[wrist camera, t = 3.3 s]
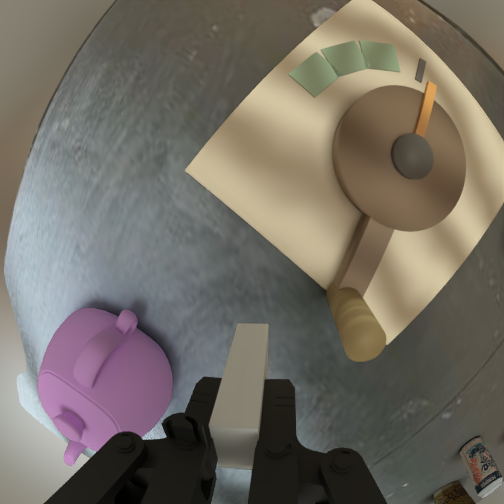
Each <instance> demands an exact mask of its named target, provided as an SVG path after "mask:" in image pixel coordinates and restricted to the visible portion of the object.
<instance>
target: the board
mask: <svg viewBox="0 0 504 504" xmlns="http://www.w3.org/2000/svg"><path fill="white" fill-rule="evenodd" d="M428 81H430V82H432V83H433V84H435V85H436V86H437V88H436V93H435V97H434V100H435V101H436V102H437V103H438V104H439V105H440V106H441V107H442V108H443V109H444V110H445V111H446V112H447V113H448V115H449V116H450V118H451V119H452V120H453V122H454V124H455V126H456V128H457V129H458V132H459V134H460V137H461V139H462V143H463V146H464V151H465V157H466V177H465V183H464V187H463V191H462V194H461V196H460V199H459V200H458V202H457V204H456V206H455V207H454V209H453V210H452V212H451V213H450V214H449V215H448V216H447V217H446V218H445V219H444V220H442V221H441V222H440V223H438V224H437V225H435V226H433V227H431V228H428V229H426V230H421V231H415V232H406V231H399V230H394V232H393V234H392V237H391V239H390V241H389V244H388V246H387V248H386V250H385V253H384V255H383V257H382V259H381V262H380V264H379V266H378V268H377V270H376V272H375V274H374V276H373V278H372V280H371V282H370V284H369V286H368V288H367V290H366V292H365V294H364V296H363V299H364V300H365V302H366V303H367V305H368V306H369V308H370V310H371V311H372V313H373V314H374V316H375V317H376V319H377V321H378V322H379V324H380V325H381V327H382V329H383V330H384V332H385V334H386V345H388V344H389V343H390V342H391V341H392V340H393V339H394V338H395V337H396V336H397V335H398V334H399V333H400V332H401V331H402V330H403V329H404V328H405V327H406V326H407V325H408V324H409V323H410V322H411V321H412V320H413V319H414V318H415V317H416V316H417V315H418V314H419V313H420V312H421V311H422V310H423V309H424V308H425V307H426V306H427V304H428V303H429V302H430V301H431V300H432V299H433V298H434V297H435V296H436V294H437V293H438V292H439V291H440V290H441V289H442V288H443V286H444V285H445V284H446V283H447V282H448V280H449V279H450V278H451V277H452V276H453V274H454V273H455V272H456V271H457V269H458V268H459V267H460V266H461V264H462V263H463V262H464V260H465V259H466V258H467V256H468V255H469V254H470V252H471V251H472V250H473V248H474V247H475V246H476V244H477V243H478V241H479V240H480V238H481V237H482V236H483V234H484V233H485V231H486V230H487V228H488V227H489V225H490V224H491V222H492V221H493V219H494V217H495V216H496V214H497V213H498V211H499V209H500V208H501V206H502V204H503V203H504V141H503V140H502V138H501V136H500V135H499V133H498V132H497V130H496V128H495V127H494V125H493V124H492V122H491V121H490V119H489V118H488V117H487V115H486V114H485V112H484V111H483V109H482V108H481V107H480V105H479V104H478V103H477V101H476V100H475V99H474V97H473V96H472V95H471V94H470V92H469V91H468V90H467V89H466V87H465V86H464V85H463V84H462V83H461V81H460V80H459V79H458V78H457V77H456V76H455V74H454V73H453V72H452V71H451V70H450V69H449V68H448V67H447V66H446V65H445V63H444V62H443V61H442V60H441V59H440V58H439V57H438V56H437V55H436V54H435V53H434V52H433V51H432V50H431V49H430V48H429V47H428V46H427V45H426V44H425V43H424V42H422V41H421V40H420V39H419V38H418V37H417V36H416V35H415V34H414V33H413V32H411V31H410V30H409V29H408V28H407V27H406V26H404V25H403V24H402V23H401V22H400V21H398V20H397V19H396V18H395V17H393V16H392V15H391V14H390V13H388V12H387V11H386V10H384V9H383V8H382V7H380V6H379V5H377V4H376V3H375V2H373V1H372V0H352V1H350V2H349V3H348V4H346V5H345V6H344V7H342V8H341V9H340V10H339V11H337V12H336V13H335V14H334V15H333V16H331V17H330V18H329V19H328V20H326V21H325V22H324V23H323V24H322V25H321V26H319V27H318V28H317V29H316V30H315V31H314V32H312V33H311V34H310V35H309V36H308V37H307V38H306V39H305V40H303V41H302V42H301V43H300V44H299V45H298V46H297V47H296V48H295V49H294V50H293V51H292V52H291V53H289V54H288V55H287V56H286V57H285V58H284V59H283V60H282V61H281V62H280V63H279V64H278V65H277V66H276V67H275V68H274V69H273V70H272V71H271V72H270V73H269V74H268V75H267V76H266V77H265V78H264V79H263V80H262V81H261V82H260V83H259V84H258V85H257V86H256V87H255V89H254V90H253V91H252V92H251V93H250V94H249V95H248V96H247V97H246V98H245V99H244V100H243V101H242V103H241V104H240V105H239V106H238V107H237V108H236V109H235V110H234V111H233V113H232V114H231V115H230V116H229V117H228V118H227V119H226V121H225V122H224V123H223V124H222V125H221V126H220V128H219V129H218V130H217V131H216V132H215V134H214V135H213V136H212V137H211V138H210V140H209V141H208V142H207V143H206V144H205V146H204V147H203V148H202V149H201V151H200V152H199V153H198V154H197V156H196V157H195V158H194V159H193V161H192V162H191V163H190V165H189V166H188V167H187V168H186V170H185V171H186V172H187V173H189V174H190V175H191V176H192V177H193V178H195V179H196V180H197V181H198V182H199V183H201V184H202V185H203V186H204V187H206V188H207V189H208V190H209V191H210V192H212V193H213V194H214V195H215V196H216V197H218V198H219V199H220V200H221V201H222V202H224V203H225V204H226V205H227V206H228V207H229V208H231V209H232V210H233V211H234V212H235V213H237V214H238V215H239V216H240V217H241V218H243V219H244V220H245V221H246V222H247V223H248V224H250V225H251V226H252V227H253V228H254V229H256V230H257V231H258V232H259V233H260V234H261V235H263V236H264V237H265V238H266V239H267V240H268V241H270V242H271V243H272V244H273V245H274V246H275V247H277V248H278V249H279V250H280V251H281V252H282V253H284V254H285V255H286V256H287V257H288V258H289V259H291V260H292V261H293V262H294V263H295V264H296V265H297V266H299V267H300V268H301V269H302V270H303V271H304V272H305V273H307V274H308V275H309V276H310V277H311V278H312V279H314V280H315V281H316V282H317V283H318V284H319V285H320V286H321V287H323V288H324V289H325V290H326V291H327V289H328V288H329V286H330V285H331V284H332V283H333V282H334V281H335V278H336V276H337V274H338V272H339V270H340V268H341V266H342V263H343V261H344V259H345V257H346V255H347V252H348V250H349V248H350V245H351V243H352V241H353V239H354V236H355V234H356V232H357V229H358V227H359V224H360V222H361V220H362V217H363V215H364V214H363V213H361V212H360V211H359V210H358V209H357V208H356V207H355V206H354V205H353V204H352V203H351V202H350V200H349V199H348V198H347V196H346V195H345V193H344V192H343V190H342V188H341V186H340V184H339V182H338V179H337V176H336V173H335V169H334V165H333V156H332V150H333V140H334V135H335V131H336V128H337V126H338V124H339V121H340V120H341V118H342V117H343V115H344V114H345V112H346V111H347V110H348V109H349V108H350V107H351V106H352V105H353V104H354V103H355V102H356V101H357V100H358V99H359V98H361V97H362V96H363V95H364V94H366V93H367V92H369V91H371V90H373V89H376V88H378V87H382V86H387V85H400V86H406V87H410V88H414V89H416V90H419V91H421V92H423V93H424V91H425V87H426V82H428Z"/></svg>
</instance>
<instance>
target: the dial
mask: <svg viewBox="0 0 504 504" xmlns="http://www.w3.org/2000/svg"><path fill="white" fill-rule="evenodd" d="M436 88H437V86H436V85H435V84H433V83H432V82H430V81H428V82H426V87H425V91H424V93H423V92H421V91H419V90H416V89H414V88H410V87H406V86H400V85H387V86H382V87H378V88H376V89H373V90H371V91H369V92H367V93H366V94H364V95H363V96H362V97H361V98H359V99H358V100H357V101H356V102H355V103H354V104H353V105H352V106H351V107H350V108H349V109H348V110H347V111H346V112H345V114H344V115H343V117H342V118H341V120H340V121H339V124H338V126H337V128H336V131H335V135H334V140H333V150H332V156H333V165H334V169H335V173H336V176H337V179H338V182H339V184H340V186H341V188H342V190H343V192H344V193H345V195H346V196H347V198H348V199H349V200H350V202H351V203H352V204H353V205H354V206H355V207H356V208H357V209H358V210H359V211H360V212H361V213H363V214H364V215H363V217H362V220H361V222H360V224H359V227H358V229H357V232H356V234H355V236H354V239H353V241H352V243H351V245H350V248H349V250H348V252H347V255H346V257H345V259H344V261H343V263H342V266H341V268H340V270H339V272H338V274H337V276H336V278H335V281H334V282H333V283H332V284H331V285H330V286H329V288H328V289H327V292H326V299H327V302H328V304H329V307H330V310H331V313H332V315H333V318H334V321H335V324H336V327H337V329H338V332H339V335H340V338H341V341H342V344H343V347H344V350H345V353H346V355H347V356H348V357H349V358H350V359H351V360H353V361H357V362H365V361H369V360H371V359H373V358H375V357H376V356H378V355H379V354H380V353H381V352H382V350H383V349H384V347H385V344H386V334H385V332H384V330H383V329H382V327H381V325H380V324H379V322H378V321H377V319H376V317H375V316H374V314H373V313H372V311H371V310H370V308H369V306H368V305H367V303H366V302H365V300H364V299H363V296H364V294H365V292H366V290H367V288H368V286H369V284H370V282H371V280H372V278H373V276H374V274H375V272H376V270H377V268H378V266H379V264H380V262H381V259H382V257H383V255H384V253H385V250H386V248H387V246H388V244H389V241H390V239H391V237H392V234H393V232H394V230H399V231H406V232H415V231H421V230H426V229H428V228H431V227H433V226H435V225H437V224H438V223H440V222H441V221H442V220H444V219H445V218H446V217H447V216H448V215H449V214H450V213H451V212H452V210H453V209H454V207H455V206H456V204H457V202H458V200H459V199H460V196H461V194H462V191H463V187H464V183H465V177H466V157H465V151H464V146H463V143H462V139H461V137H460V134H459V132H458V129H457V128H456V126H455V124H454V122H453V120H452V119H451V118H450V116H449V115H448V113H447V112H446V111H445V110H444V109H443V108H442V107H441V106H440V105H439V104H438V103H437V102H436V101H435V100H434V97H435V93H436Z"/></svg>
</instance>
